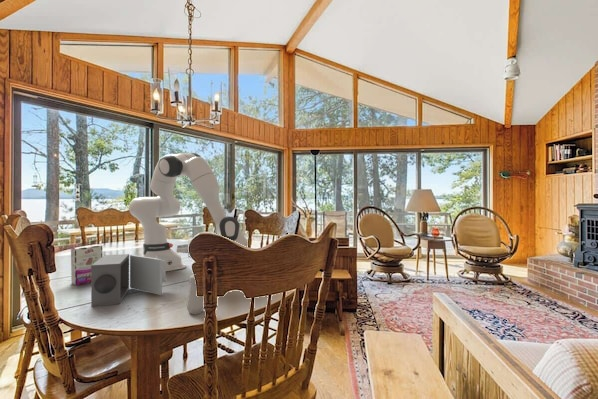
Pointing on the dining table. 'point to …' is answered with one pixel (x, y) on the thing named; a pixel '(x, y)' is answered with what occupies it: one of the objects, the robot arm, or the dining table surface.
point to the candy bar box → (84, 262)
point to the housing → (109, 279)
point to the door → (147, 274)
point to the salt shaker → (194, 299)
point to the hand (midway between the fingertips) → (176, 248)
